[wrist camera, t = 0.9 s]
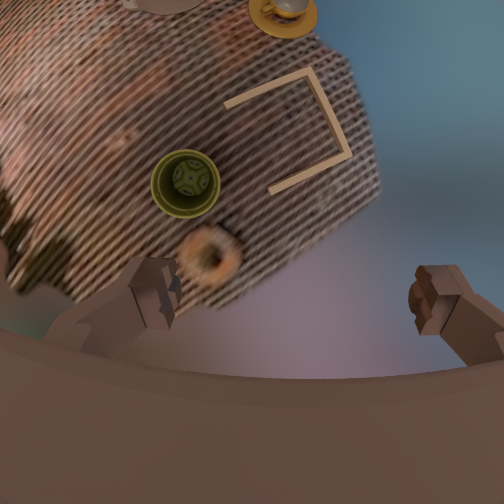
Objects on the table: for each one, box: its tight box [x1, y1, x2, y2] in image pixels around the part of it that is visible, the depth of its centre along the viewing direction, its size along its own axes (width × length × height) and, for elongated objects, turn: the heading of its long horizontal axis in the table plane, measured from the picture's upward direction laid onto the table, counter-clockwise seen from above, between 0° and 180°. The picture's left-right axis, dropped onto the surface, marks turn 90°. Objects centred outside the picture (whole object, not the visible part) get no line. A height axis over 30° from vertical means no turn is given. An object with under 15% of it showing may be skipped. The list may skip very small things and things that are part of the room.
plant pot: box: [151, 149, 221, 219], centre depth 43 cm, size 9×9×9 cm
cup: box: [248, 0, 318, 38], centre depth 36 cm, size 12×12×5 cm
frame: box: [223, 66, 353, 195], centre depth 45 cm, size 16×15×2 cm
